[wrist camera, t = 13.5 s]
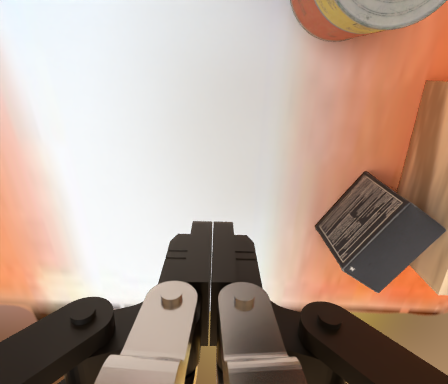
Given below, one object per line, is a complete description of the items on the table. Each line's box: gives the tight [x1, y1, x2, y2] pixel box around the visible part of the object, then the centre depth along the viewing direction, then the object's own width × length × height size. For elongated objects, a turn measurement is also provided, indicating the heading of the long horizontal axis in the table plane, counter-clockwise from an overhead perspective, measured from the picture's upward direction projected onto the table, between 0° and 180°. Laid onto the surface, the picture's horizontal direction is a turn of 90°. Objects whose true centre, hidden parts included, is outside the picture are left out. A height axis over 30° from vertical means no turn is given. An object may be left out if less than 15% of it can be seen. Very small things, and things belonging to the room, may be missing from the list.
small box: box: [315, 171, 446, 293], centre depth 39 cm, size 11×6×10 cm, turn 145°
